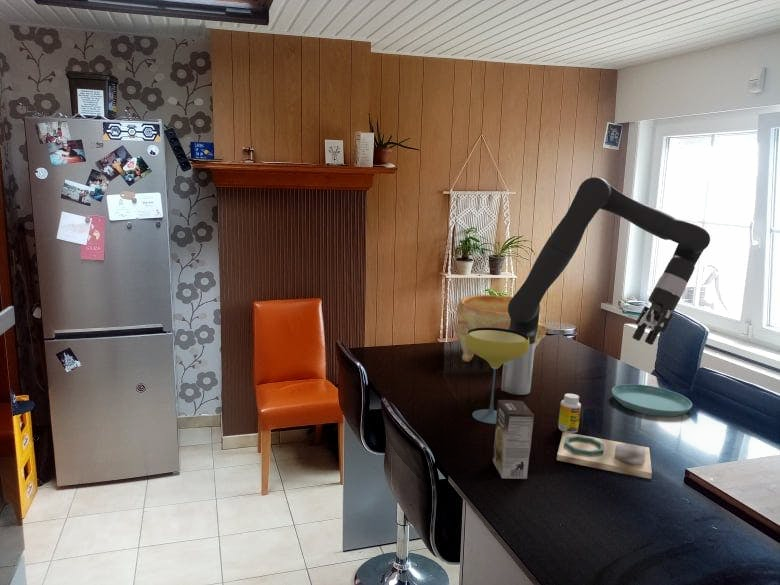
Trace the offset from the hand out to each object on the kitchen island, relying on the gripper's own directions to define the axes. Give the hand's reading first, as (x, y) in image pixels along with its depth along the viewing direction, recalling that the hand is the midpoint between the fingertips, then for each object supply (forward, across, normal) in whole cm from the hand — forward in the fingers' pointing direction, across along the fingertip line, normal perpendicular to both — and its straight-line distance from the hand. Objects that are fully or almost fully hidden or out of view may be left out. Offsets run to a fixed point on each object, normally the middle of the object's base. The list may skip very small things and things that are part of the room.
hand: (641, 341), depth 178 cm
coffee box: (+44, +32, -28) cm, 61 cm away
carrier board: (+32, +22, -4) cm, 39 cm away
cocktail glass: (+40, -2, -29) cm, 49 cm away
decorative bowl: (+28, -65, -22) cm, 74 cm away
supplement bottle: (+32, +5, -9) cm, 34 cm away
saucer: (+16, -19, +21) cm, 33 cm away
